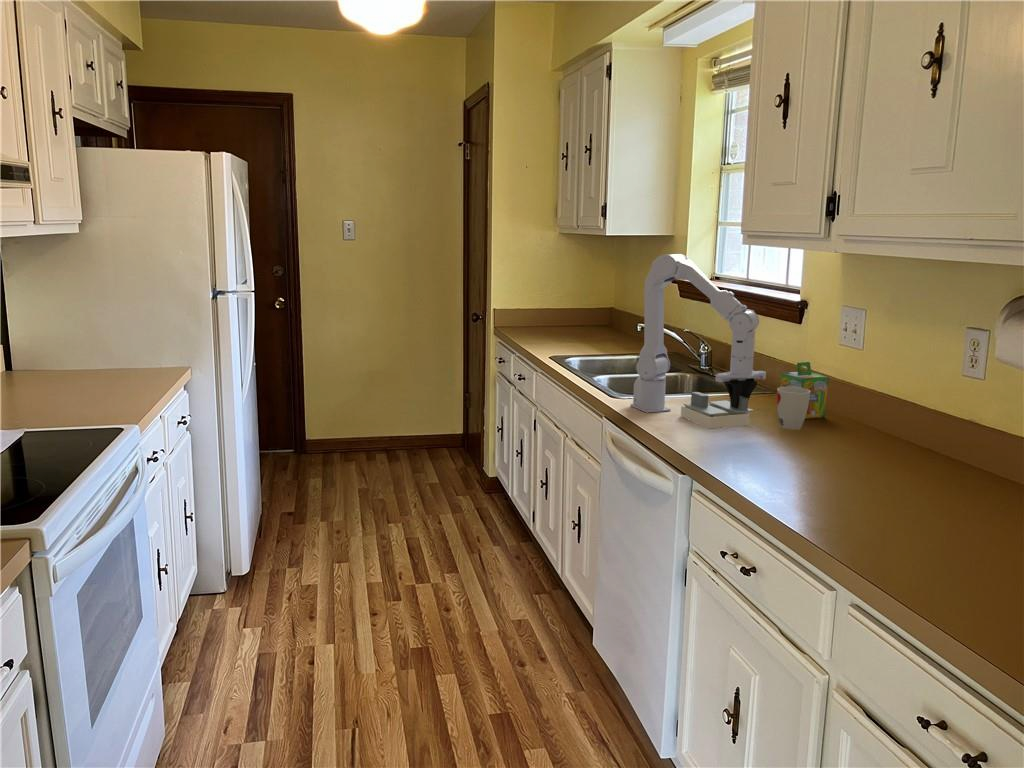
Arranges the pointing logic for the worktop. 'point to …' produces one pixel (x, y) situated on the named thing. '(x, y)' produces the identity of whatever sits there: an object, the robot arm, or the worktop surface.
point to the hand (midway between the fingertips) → (738, 407)
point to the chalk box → (809, 388)
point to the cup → (792, 406)
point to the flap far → (727, 405)
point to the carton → (715, 418)
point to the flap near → (703, 404)
